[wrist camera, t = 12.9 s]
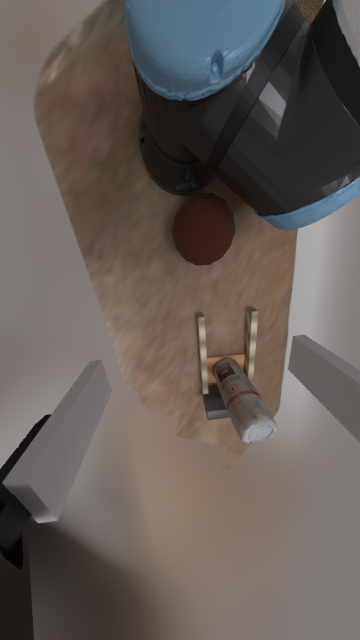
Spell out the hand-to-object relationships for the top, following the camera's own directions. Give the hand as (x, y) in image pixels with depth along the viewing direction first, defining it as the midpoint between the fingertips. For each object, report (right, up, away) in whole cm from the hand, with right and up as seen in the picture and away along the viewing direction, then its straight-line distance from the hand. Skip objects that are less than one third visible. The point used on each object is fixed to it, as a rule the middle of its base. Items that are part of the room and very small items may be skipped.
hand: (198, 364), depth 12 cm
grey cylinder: (+12, -11, +39) cm, 42 cm away
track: (+11, -6, +37) cm, 40 cm away
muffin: (+3, +22, +26) cm, 34 cm away
